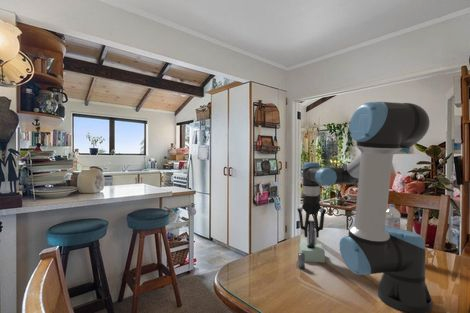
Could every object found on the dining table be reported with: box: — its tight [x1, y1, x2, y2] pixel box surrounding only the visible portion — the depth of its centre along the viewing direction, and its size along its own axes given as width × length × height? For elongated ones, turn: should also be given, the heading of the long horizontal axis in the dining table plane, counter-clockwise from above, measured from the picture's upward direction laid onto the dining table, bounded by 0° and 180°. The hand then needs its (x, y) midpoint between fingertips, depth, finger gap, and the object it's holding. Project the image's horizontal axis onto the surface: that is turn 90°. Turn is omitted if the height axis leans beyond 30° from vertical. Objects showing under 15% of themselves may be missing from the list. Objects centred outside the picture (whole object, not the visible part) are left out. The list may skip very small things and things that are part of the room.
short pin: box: [297, 252, 306, 270], centre depth 108 cm, size 3×3×6 cm
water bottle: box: [385, 203, 402, 229], centre depth 120 cm, size 7×7×25 cm
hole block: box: [299, 242, 326, 263], centre depth 119 cm, size 10×10×5 cm
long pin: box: [307, 219, 316, 249], centre depth 119 cm, size 3×3×14 cm
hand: (311, 244), depth 119 cm, fingers closed on long pin, 3 cm apart
